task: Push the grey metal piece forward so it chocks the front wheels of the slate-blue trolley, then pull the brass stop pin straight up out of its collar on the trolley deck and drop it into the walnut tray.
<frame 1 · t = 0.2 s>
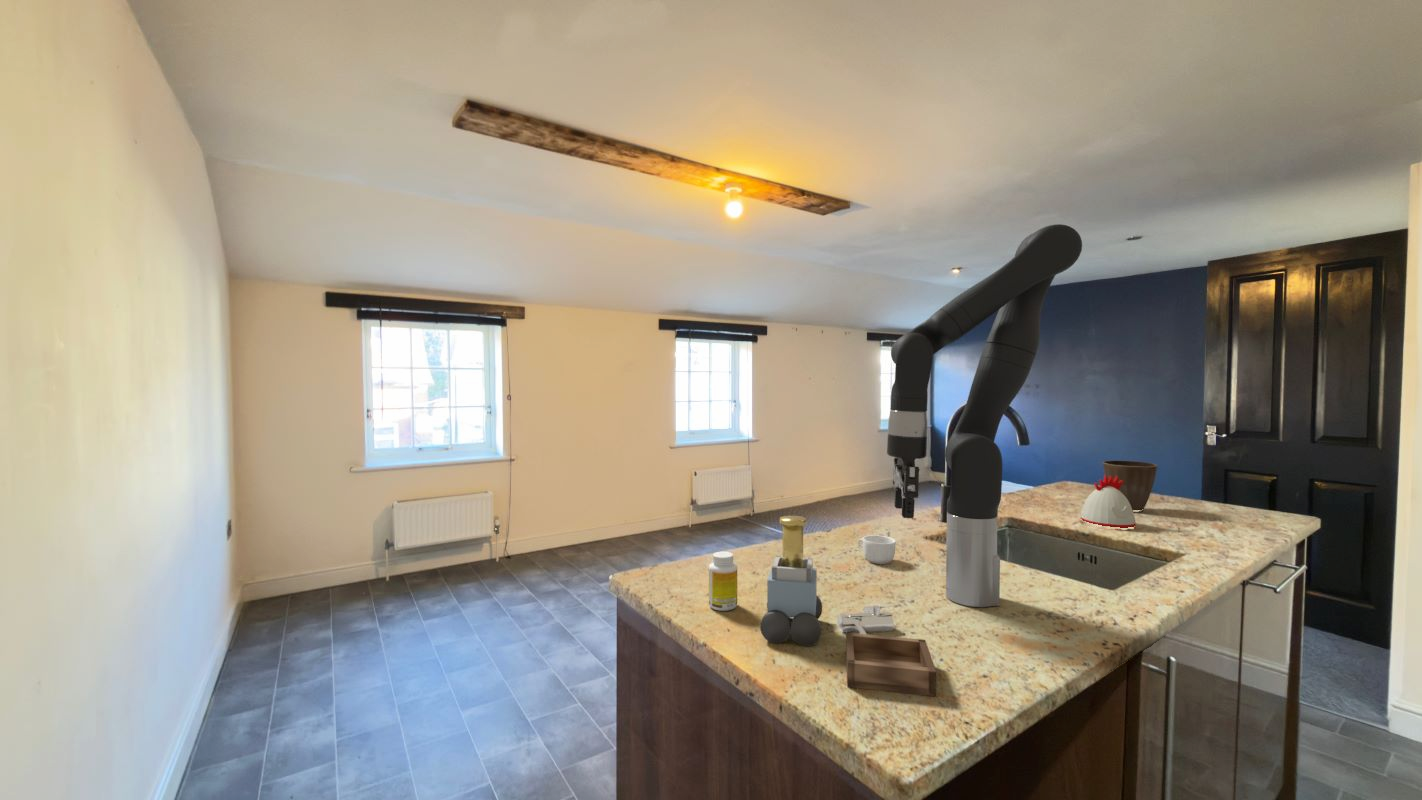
hand: (903, 512, 115), 17 cm above the counter, tool pointing down, fingers open, 8 cm apart
stop pin: (792, 574, 100), point 10 cm above the counter, touching trolley
plant pot: (1128, 510, 193), on the counter
trolley: (792, 630, 100), on the counter
teacup: (875, 561, 139), on the counter
tray: (887, 673, 85), on the counter
supplement bottle: (723, 607, 111), on the counter
grey metal piece: (872, 641, 97), on the counter
kitchen timer: (1107, 525, 174), on the counter
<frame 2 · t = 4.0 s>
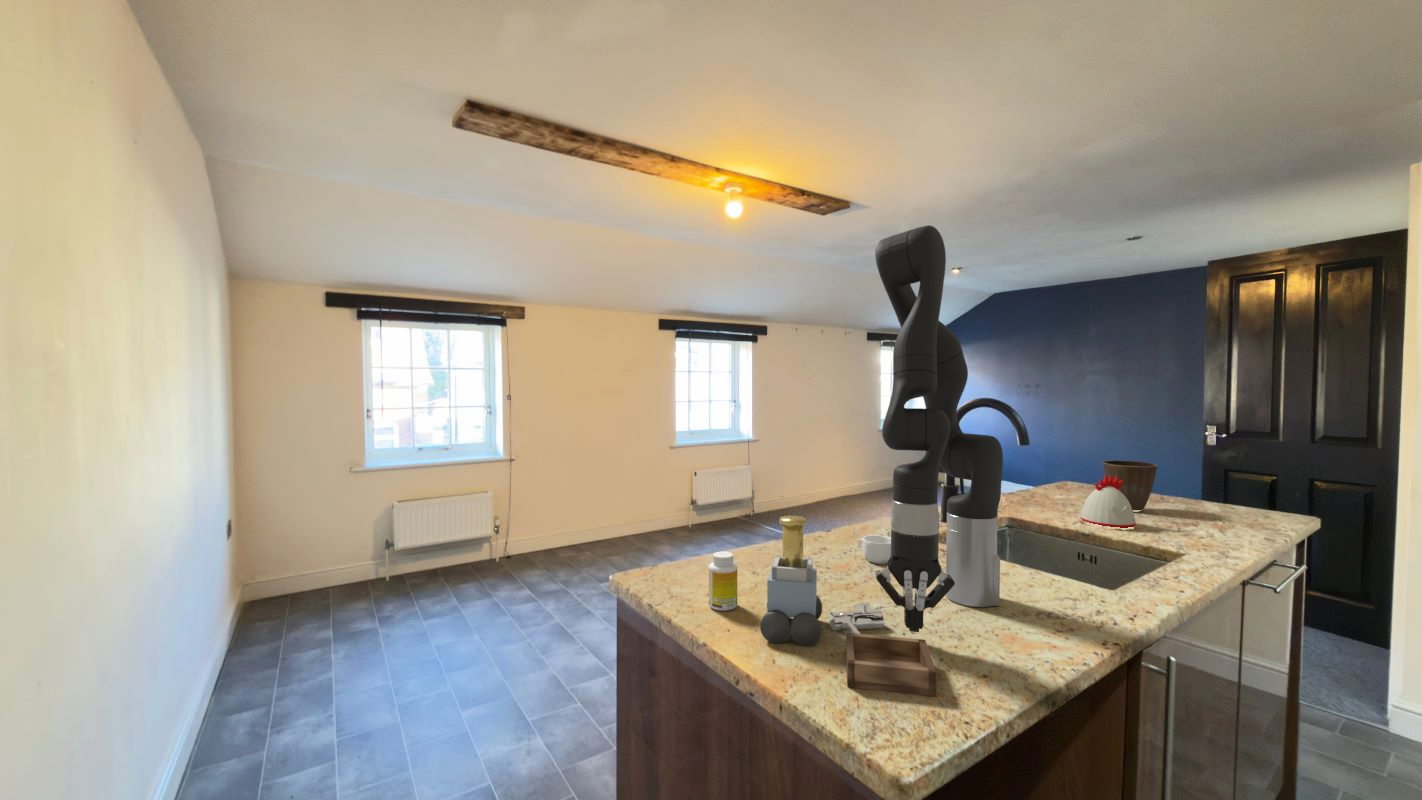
hand: (913, 629, 95), 2 cm above the counter, tool pointing down, fingers closed
grey metal piece: (863, 638, 98), on the counter
everything else where it was.
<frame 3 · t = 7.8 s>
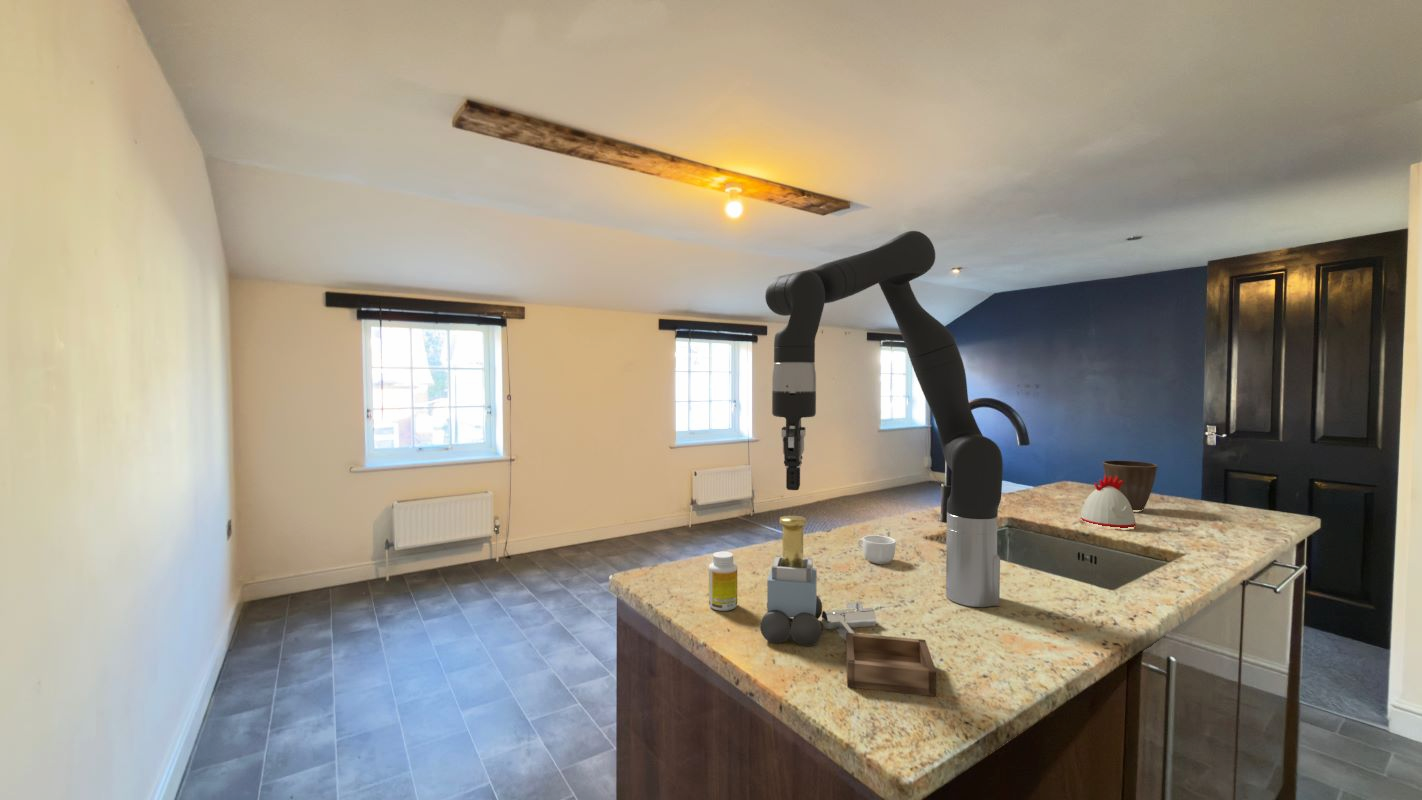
hand: (793, 488, 99), 25 cm above the counter, tool pointing down, fingers closed
grey metal piece: (856, 636, 99), on the counter
everything else where it was.
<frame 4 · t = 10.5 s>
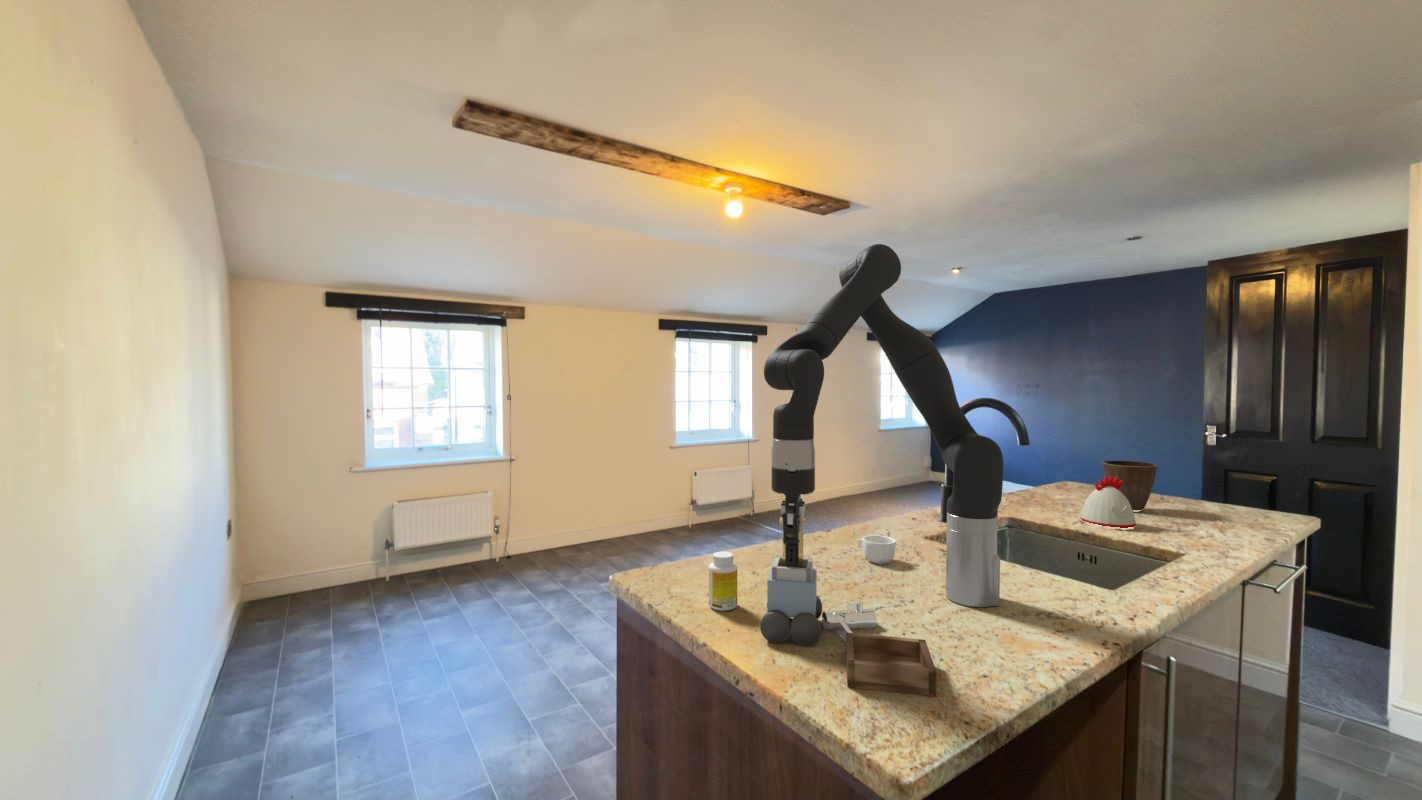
hand: (792, 561, 99), 12 cm above the counter, tool pointing down, fingers closed on stop pin, 3 cm apart
stop pin: (792, 574, 100), point 10 cm above the counter, touching gripper, trolley
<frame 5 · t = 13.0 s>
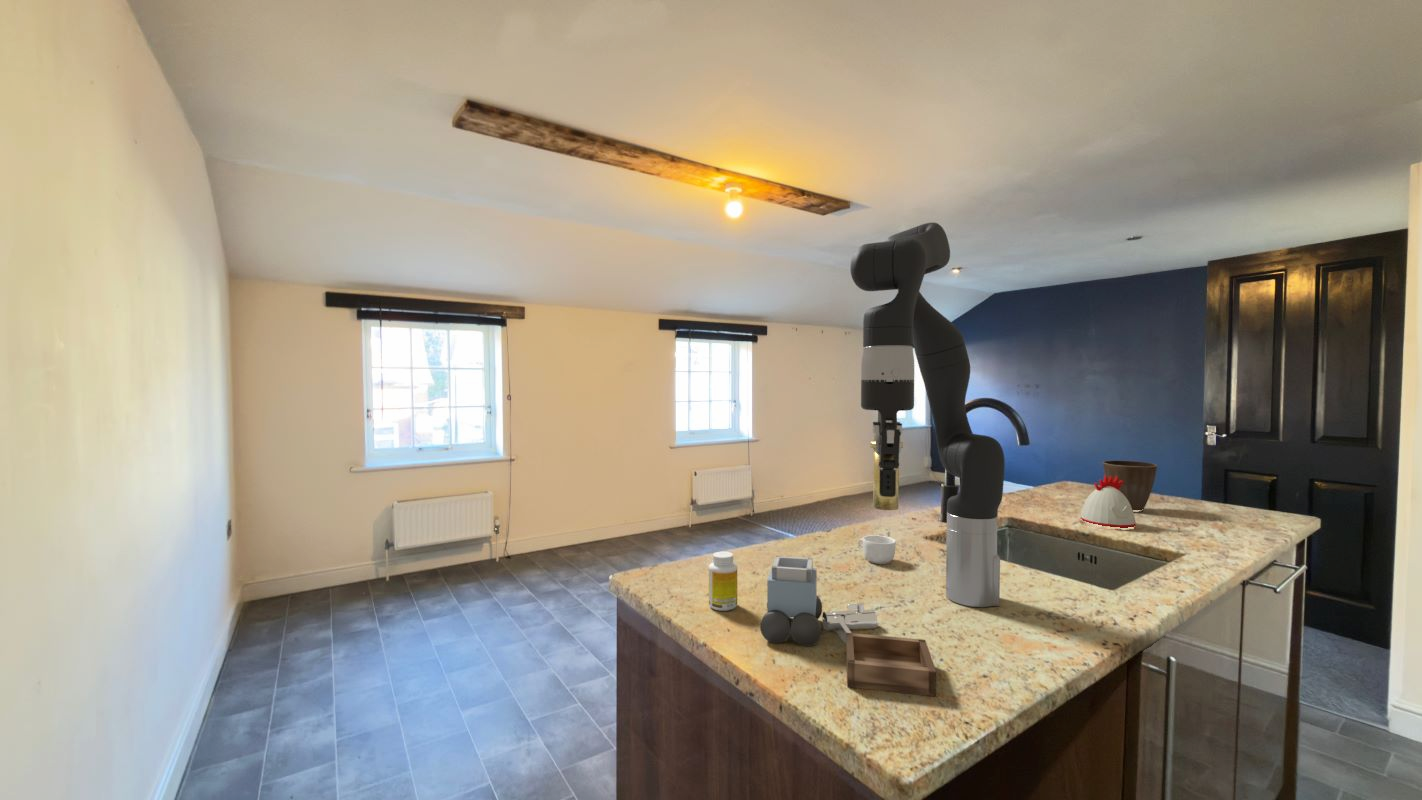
hand: (886, 492, 84), 27 cm above the counter, tool pointing down, fingers closed on stop pin, 3 cm apart
stop pin: (885, 507, 85), point 25 cm above the counter, touching gripper
when the fingers open (5 cm above the counter, at t = 16.0 s): stop pin drops 2 cm, resting on tray.
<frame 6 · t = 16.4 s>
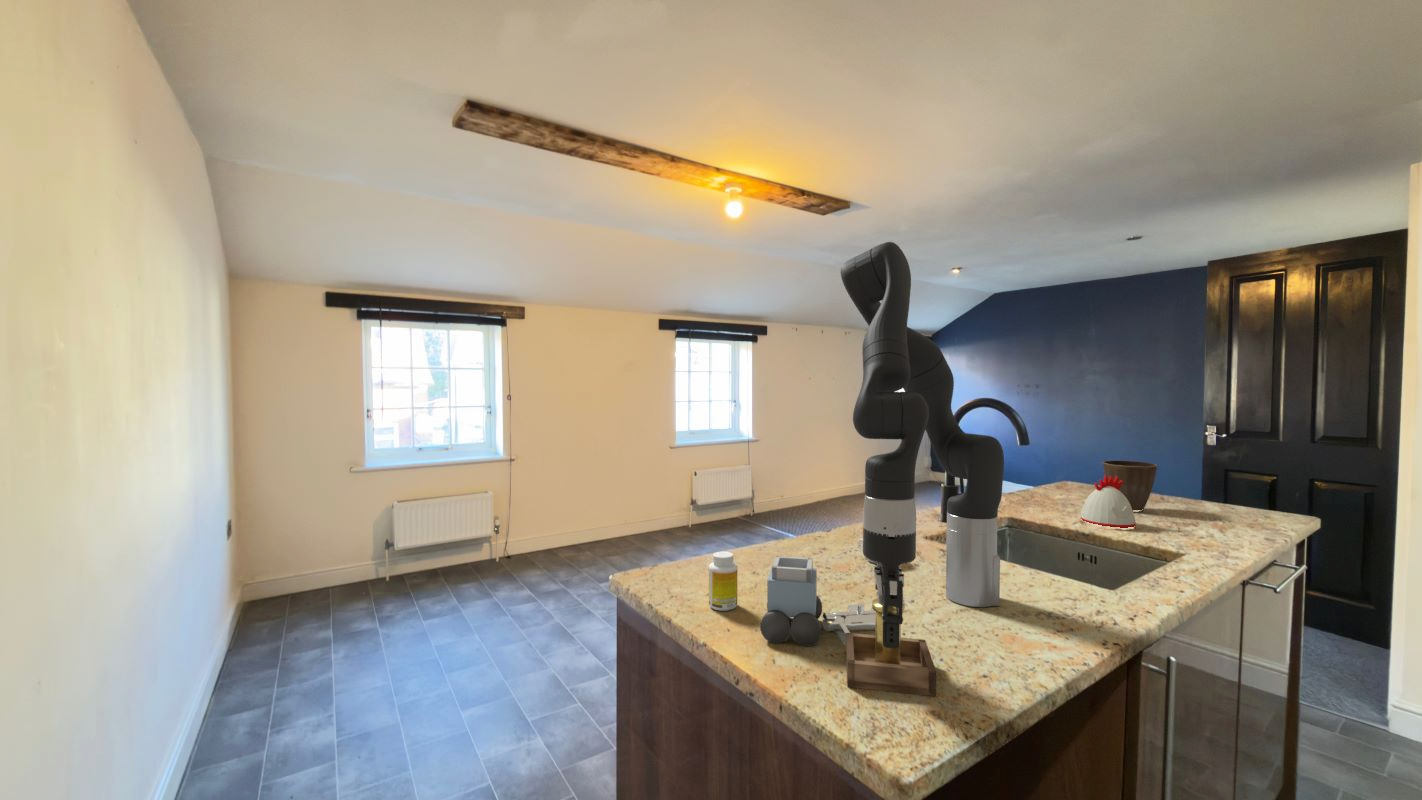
hand: (888, 634, 85), 6 cm above the counter, tool pointing down, fingers open, 7 cm apart
stop pin: (887, 668, 85), point 1 cm above the counter, touching tray
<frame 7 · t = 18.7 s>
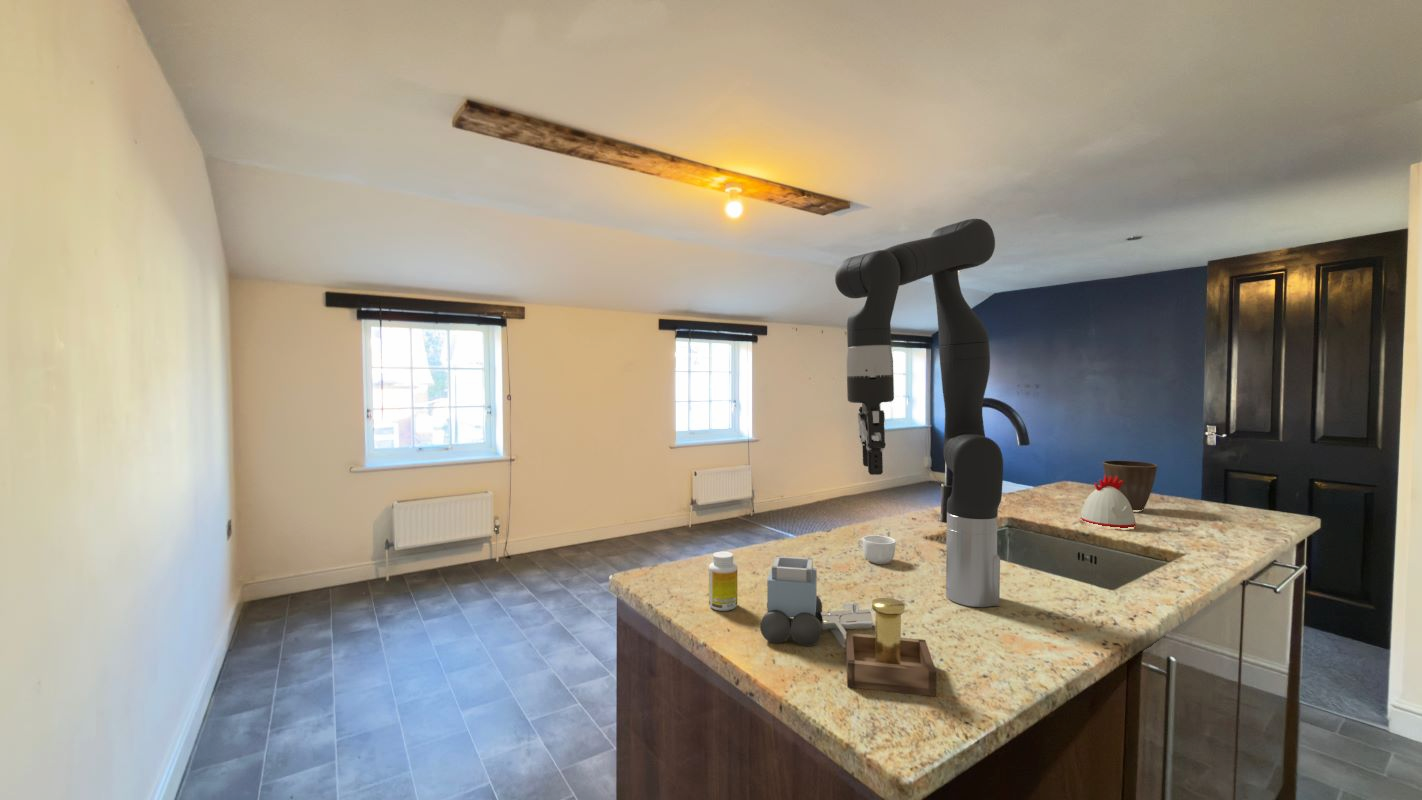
hand: (872, 470, 96), 29 cm above the counter, tool pointing down, fingers open, 8 cm apart
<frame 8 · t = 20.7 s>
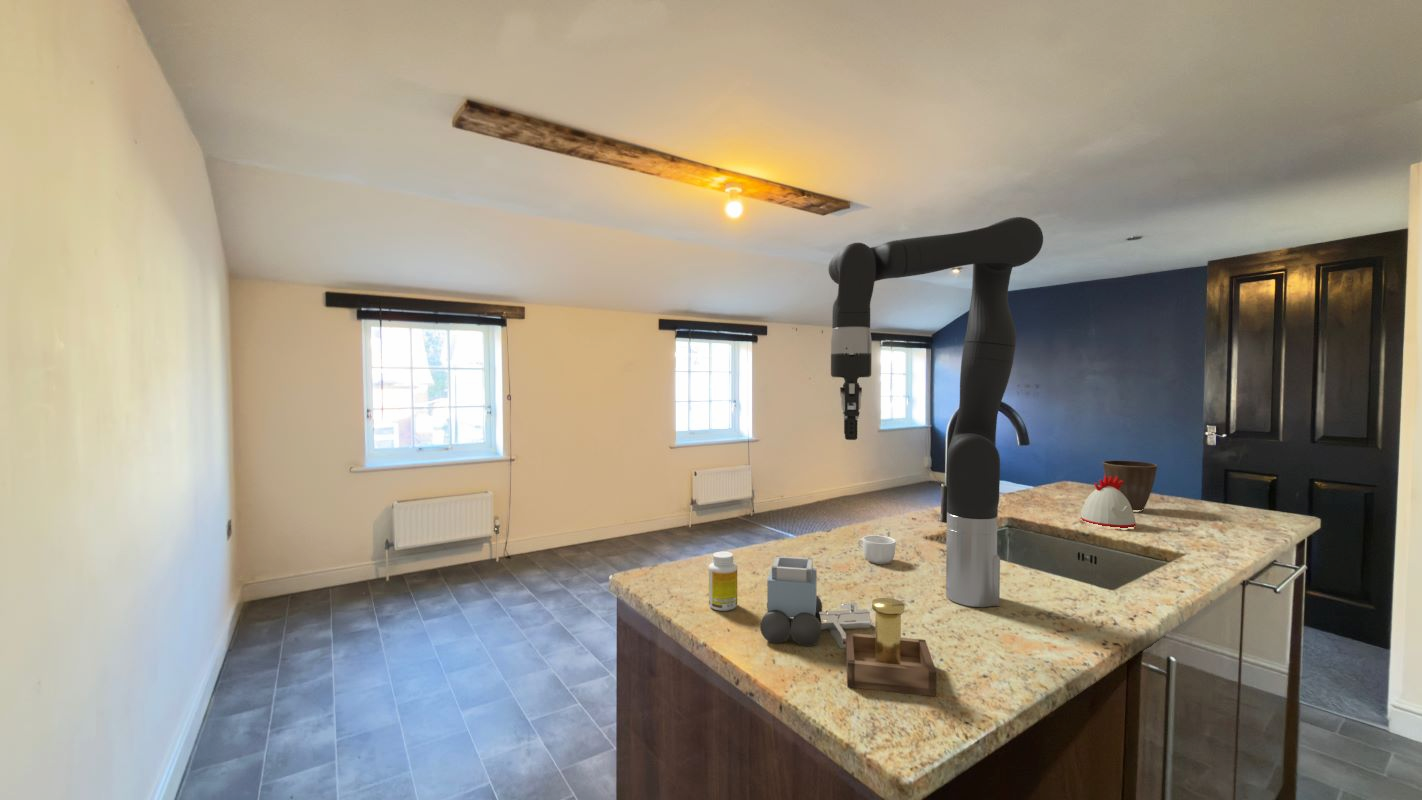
hand: (850, 437, 108), 33 cm above the counter, tool pointing down, fingers open, 8 cm apart
at the end: grey metal piece inside the target area on the counter beside the trolley (0.2 cm from its centre), on the counter; stop pin inside the target area on the tray (0.4 cm from its centre), point 1.0 cm above the tray's base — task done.
